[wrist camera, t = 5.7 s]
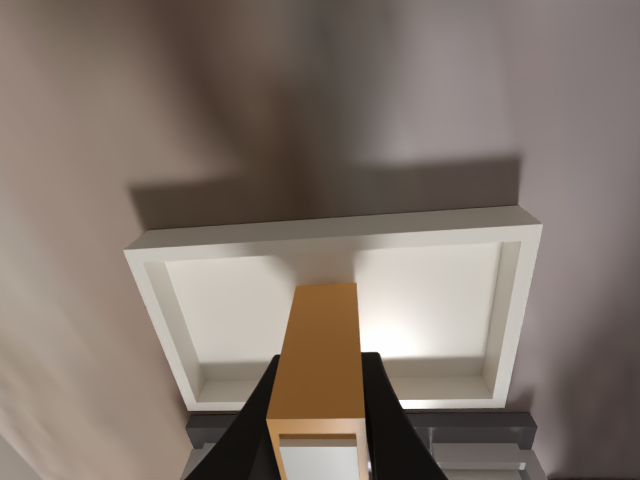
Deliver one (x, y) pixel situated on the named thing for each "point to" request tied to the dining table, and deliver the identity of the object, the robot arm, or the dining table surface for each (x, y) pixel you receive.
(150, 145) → the dining table surface
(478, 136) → the dining table surface
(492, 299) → the tray
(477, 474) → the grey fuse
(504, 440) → the fuse block
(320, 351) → the block
